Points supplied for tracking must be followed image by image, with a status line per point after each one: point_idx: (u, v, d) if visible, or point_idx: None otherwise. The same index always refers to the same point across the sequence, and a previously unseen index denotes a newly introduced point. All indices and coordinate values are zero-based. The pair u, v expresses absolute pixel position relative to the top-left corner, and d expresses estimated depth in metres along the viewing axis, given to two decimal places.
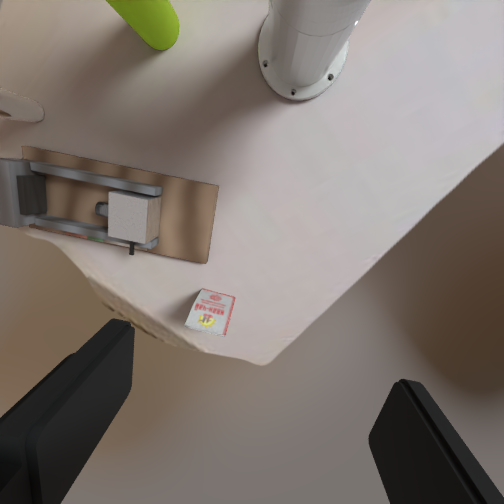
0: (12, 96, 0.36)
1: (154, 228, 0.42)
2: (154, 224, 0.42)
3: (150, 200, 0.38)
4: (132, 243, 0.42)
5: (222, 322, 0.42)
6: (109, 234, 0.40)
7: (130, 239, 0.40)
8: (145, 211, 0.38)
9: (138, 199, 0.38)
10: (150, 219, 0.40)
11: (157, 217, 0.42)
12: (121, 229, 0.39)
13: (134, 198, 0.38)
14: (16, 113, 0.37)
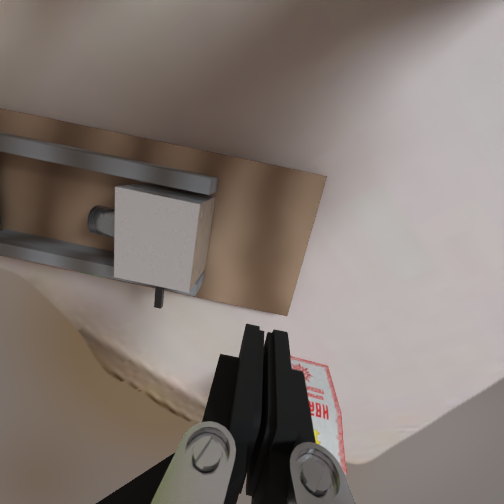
0: None
1: (202, 257, 0.22)
2: (202, 250, 0.21)
3: (203, 204, 0.18)
4: (160, 288, 0.21)
5: (331, 436, 0.22)
6: (116, 273, 0.19)
7: (159, 283, 0.19)
8: (192, 229, 0.18)
9: (179, 203, 0.17)
10: (199, 243, 0.20)
11: (207, 236, 0.22)
12: (141, 263, 0.19)
13: (170, 200, 0.17)
14: None
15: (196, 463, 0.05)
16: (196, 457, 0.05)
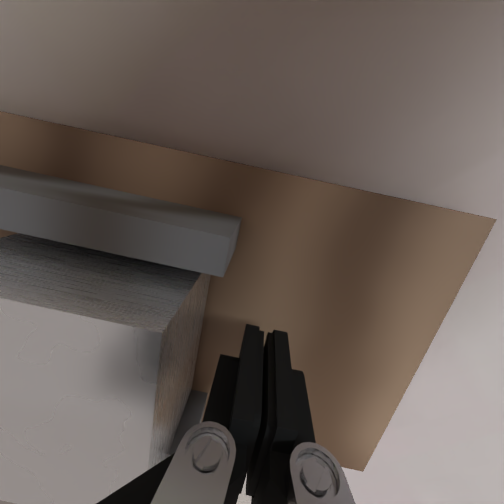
0: None
1: (183, 393, 0.10)
2: (183, 384, 0.09)
3: (176, 315, 0.06)
4: None
5: None
6: None
7: None
8: (143, 398, 0.06)
9: (93, 326, 0.05)
10: (169, 399, 0.07)
11: (195, 341, 0.10)
12: (4, 465, 0.07)
13: (64, 319, 0.05)
14: None
15: (196, 463, 0.05)
16: (196, 457, 0.05)
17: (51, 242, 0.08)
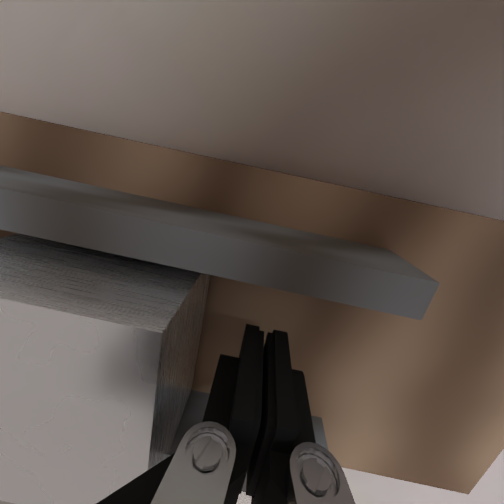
0: None
1: (183, 393, 0.10)
2: (183, 384, 0.09)
3: (176, 315, 0.06)
4: None
5: None
6: None
7: None
8: (142, 398, 0.06)
9: (93, 326, 0.05)
10: (169, 399, 0.07)
11: (195, 341, 0.10)
12: (4, 466, 0.07)
13: (64, 319, 0.05)
14: None
15: (196, 463, 0.05)
16: (196, 457, 0.05)
17: (51, 242, 0.08)
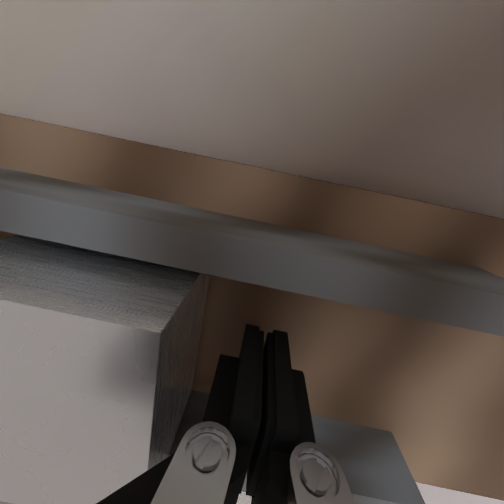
0: None
1: (183, 393, 0.10)
2: (183, 384, 0.09)
3: (175, 315, 0.06)
4: None
5: None
6: None
7: None
8: (142, 399, 0.06)
9: (92, 327, 0.05)
10: (169, 399, 0.07)
11: (195, 341, 0.10)
12: (5, 466, 0.07)
13: (62, 320, 0.05)
14: None
15: (196, 463, 0.05)
16: (196, 457, 0.05)
17: (50, 243, 0.08)
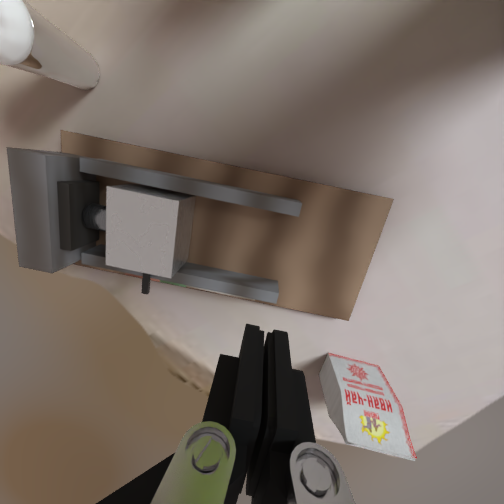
0: (55, 30, 0.19)
1: (184, 249, 0.25)
2: (184, 243, 0.24)
3: (182, 201, 0.21)
4: (147, 275, 0.24)
5: (397, 427, 0.25)
6: (108, 262, 0.22)
7: (145, 270, 0.22)
8: (173, 222, 0.21)
9: (161, 200, 0.20)
10: (179, 235, 0.23)
11: (188, 230, 0.25)
12: (129, 252, 0.22)
13: (154, 198, 0.20)
14: (60, 64, 0.20)
15: (196, 463, 0.05)
16: (196, 457, 0.05)
17: (138, 187, 0.23)
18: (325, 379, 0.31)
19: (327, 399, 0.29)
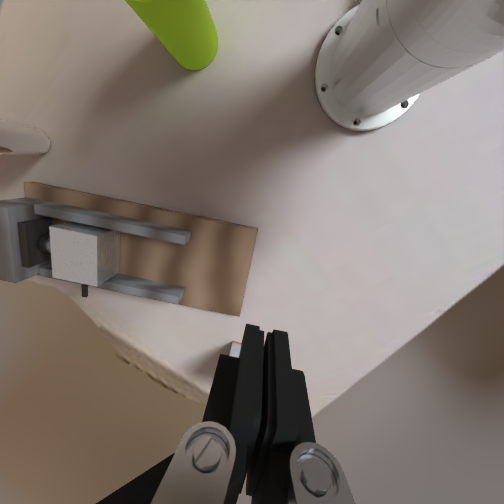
0: (12, 128, 0.29)
1: (111, 265, 0.35)
2: (110, 261, 0.35)
3: (101, 235, 0.32)
4: (84, 284, 0.35)
5: None
6: (54, 275, 0.33)
7: (79, 281, 0.33)
8: (95, 250, 0.31)
9: (85, 235, 0.31)
10: (103, 257, 0.33)
11: (115, 252, 0.36)
12: (67, 269, 0.32)
13: (80, 234, 0.31)
14: (17, 148, 0.30)
15: (196, 463, 0.05)
16: (196, 457, 0.05)
17: (76, 223, 0.34)
18: None
19: None
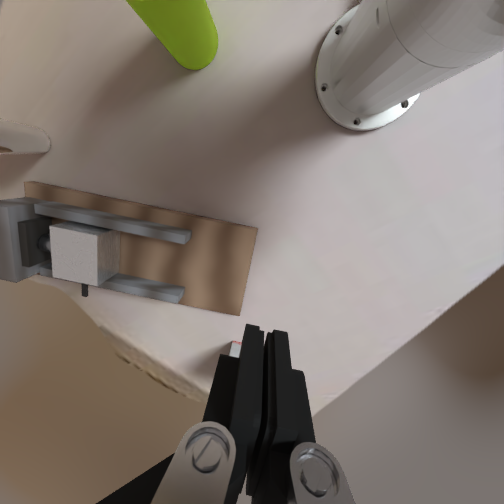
0: (12, 128, 0.29)
1: (111, 265, 0.35)
2: (110, 261, 0.35)
3: (101, 235, 0.32)
4: (84, 283, 0.35)
5: None
6: (54, 275, 0.33)
7: (79, 281, 0.33)
8: (95, 249, 0.31)
9: (85, 235, 0.31)
10: (103, 257, 0.33)
11: (115, 251, 0.36)
12: (68, 268, 0.32)
13: (81, 233, 0.31)
14: (17, 147, 0.30)
15: (196, 463, 0.05)
16: (196, 457, 0.05)
17: (76, 223, 0.34)
18: None
19: None
